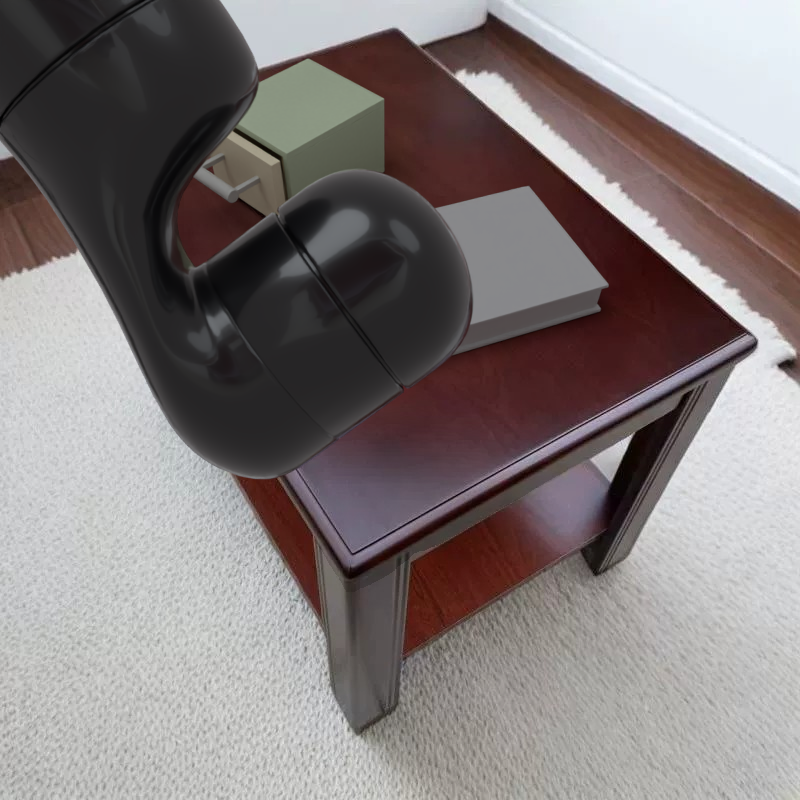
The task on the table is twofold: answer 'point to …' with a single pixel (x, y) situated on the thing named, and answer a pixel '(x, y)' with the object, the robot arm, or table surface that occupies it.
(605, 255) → the table surface
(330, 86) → the cabinet
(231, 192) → the drawer
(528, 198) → the book
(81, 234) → the robot arm
